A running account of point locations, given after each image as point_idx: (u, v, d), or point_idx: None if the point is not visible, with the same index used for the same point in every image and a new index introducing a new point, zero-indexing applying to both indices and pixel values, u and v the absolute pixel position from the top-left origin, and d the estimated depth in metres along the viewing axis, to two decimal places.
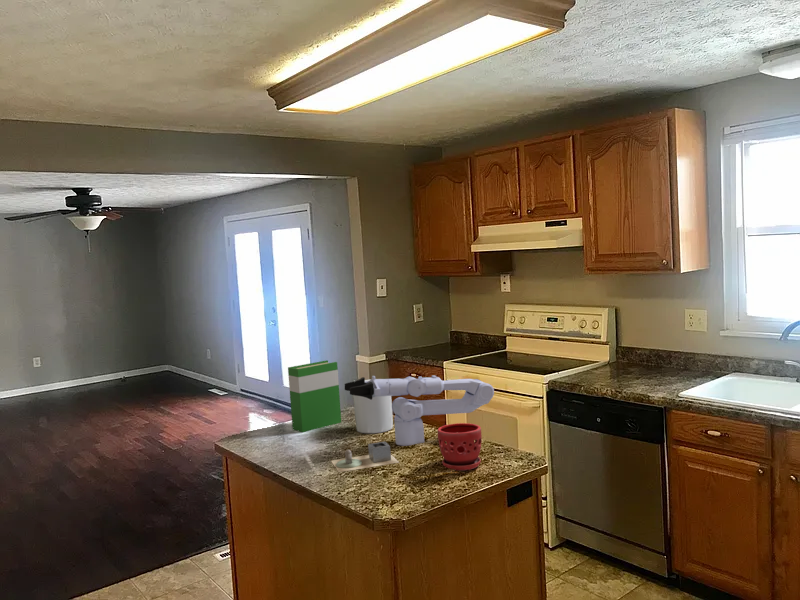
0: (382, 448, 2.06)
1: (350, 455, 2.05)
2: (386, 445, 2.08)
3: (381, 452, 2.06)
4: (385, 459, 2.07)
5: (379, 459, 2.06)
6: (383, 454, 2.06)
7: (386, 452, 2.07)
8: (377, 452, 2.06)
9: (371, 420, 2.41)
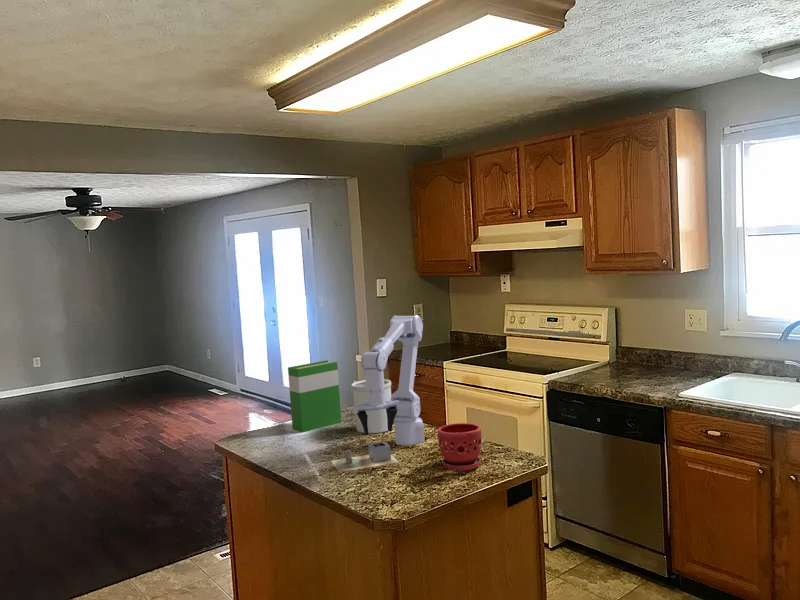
0: (382, 448, 2.06)
1: (350, 455, 2.05)
2: (386, 445, 2.08)
3: (381, 452, 2.06)
4: (385, 459, 2.07)
5: (379, 459, 2.06)
6: (383, 454, 2.06)
7: (386, 452, 2.07)
8: (377, 452, 2.06)
9: (371, 420, 2.41)
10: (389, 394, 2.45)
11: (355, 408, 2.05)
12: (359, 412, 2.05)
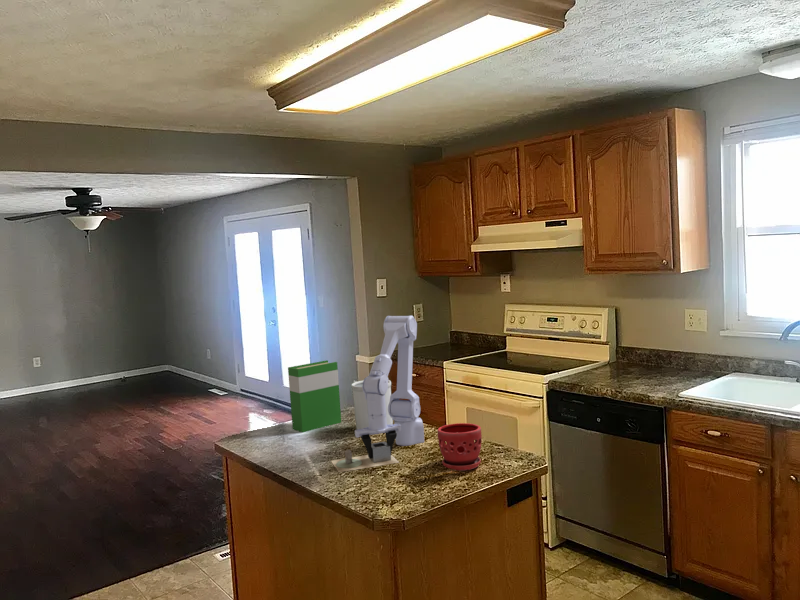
0: (382, 448, 2.06)
1: (350, 455, 2.05)
2: (386, 445, 2.08)
3: (381, 452, 2.06)
4: (385, 459, 2.07)
5: (379, 459, 2.06)
6: (383, 454, 2.06)
7: (386, 452, 2.07)
8: (377, 452, 2.06)
9: None
10: (389, 394, 2.45)
11: (357, 432, 2.05)
12: (363, 436, 2.06)
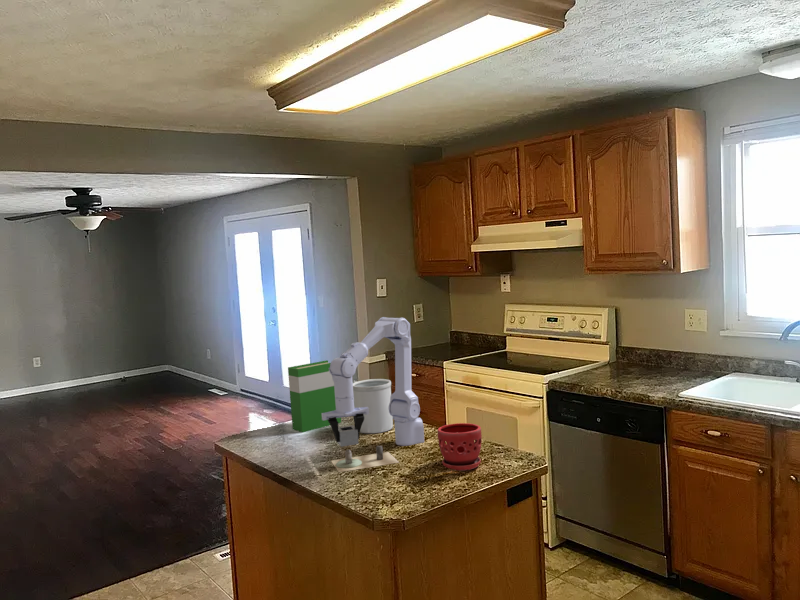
0: (349, 431, 2.03)
1: (350, 455, 2.05)
2: (353, 429, 2.04)
3: (348, 436, 2.02)
4: (352, 443, 2.03)
5: (346, 443, 2.02)
6: (350, 438, 2.03)
7: (353, 436, 2.03)
8: (344, 435, 2.02)
9: (371, 420, 2.41)
10: (389, 394, 2.45)
11: (323, 415, 2.02)
12: (330, 419, 2.03)
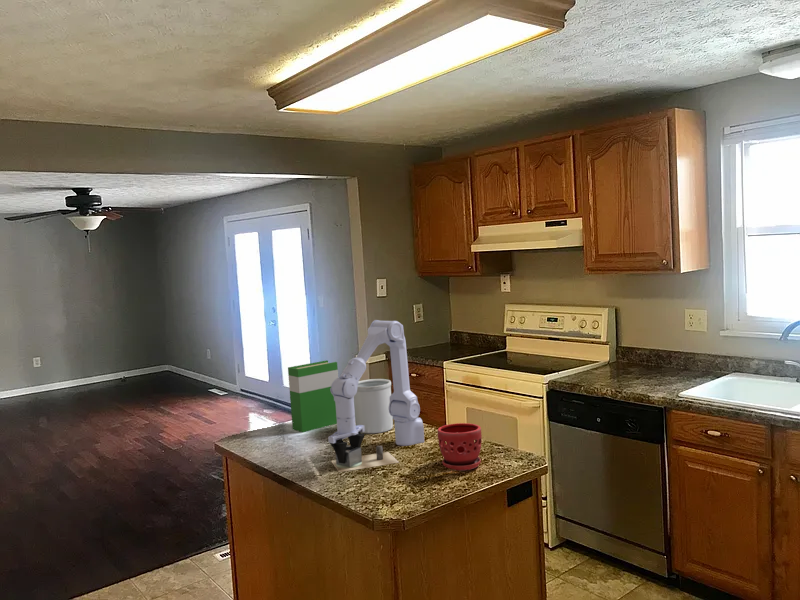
0: (355, 450, 2.04)
1: None
2: (356, 447, 2.06)
3: (355, 455, 2.04)
4: (358, 461, 2.05)
5: (353, 462, 2.03)
6: (356, 457, 2.04)
7: (358, 454, 2.05)
8: (352, 455, 2.03)
9: (371, 420, 2.41)
10: (389, 394, 2.45)
11: (333, 438, 1.99)
12: (338, 441, 2.01)
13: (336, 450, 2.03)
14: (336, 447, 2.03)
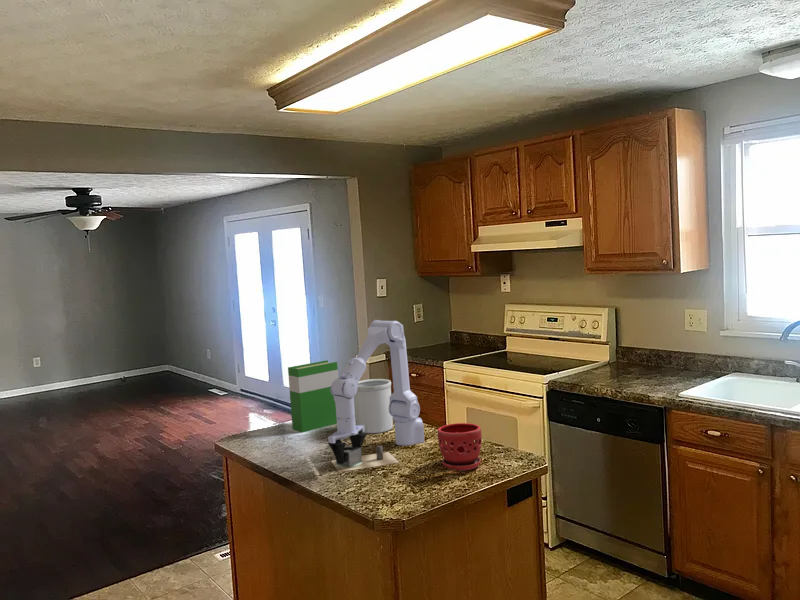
0: (355, 451, 2.04)
1: None
2: (356, 447, 2.06)
3: (355, 455, 2.04)
4: (357, 461, 2.05)
5: (353, 462, 2.03)
6: (356, 457, 2.04)
7: (358, 454, 2.05)
8: (352, 455, 2.03)
9: (371, 420, 2.41)
10: (389, 394, 2.45)
11: (333, 438, 1.99)
12: (336, 441, 2.00)
13: (334, 451, 2.03)
14: (334, 448, 2.03)
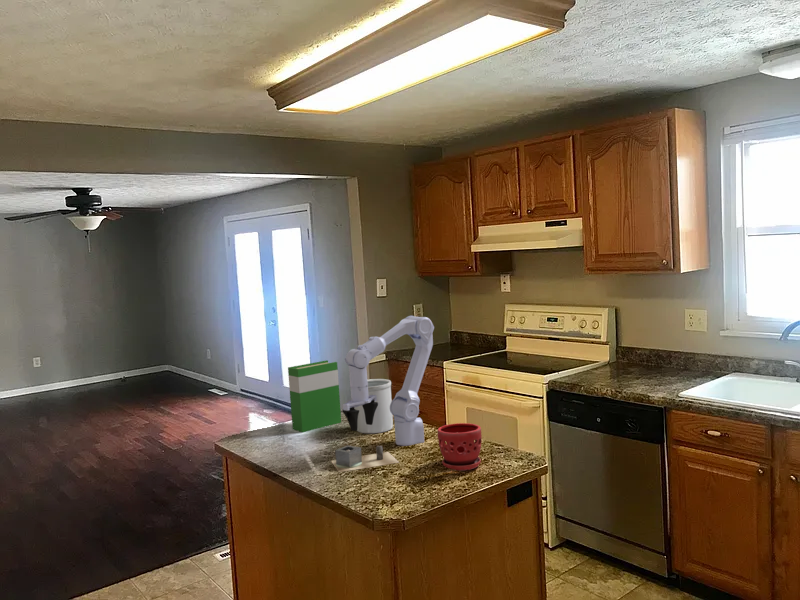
0: (355, 451, 2.04)
1: None
2: (356, 447, 2.06)
3: (355, 455, 2.04)
4: (357, 461, 2.05)
5: (353, 462, 2.03)
6: (356, 457, 2.04)
7: (358, 454, 2.05)
8: (352, 455, 2.03)
9: None
10: (389, 394, 2.45)
11: (347, 405, 2.09)
12: (350, 409, 2.10)
13: (348, 418, 2.13)
14: (348, 415, 2.13)
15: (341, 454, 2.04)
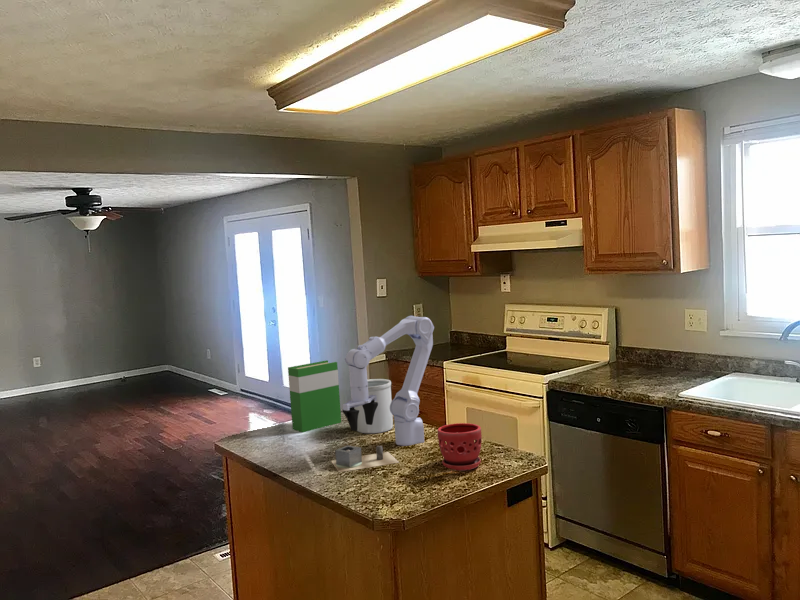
0: (355, 451, 2.04)
1: None
2: (356, 447, 2.06)
3: (355, 455, 2.04)
4: (357, 461, 2.05)
5: (353, 462, 2.03)
6: (356, 457, 2.04)
7: (358, 454, 2.05)
8: (352, 455, 2.03)
9: None
10: (389, 394, 2.45)
11: (347, 405, 2.09)
12: (350, 409, 2.10)
13: (348, 418, 2.13)
14: (348, 415, 2.13)
15: (341, 454, 2.04)
